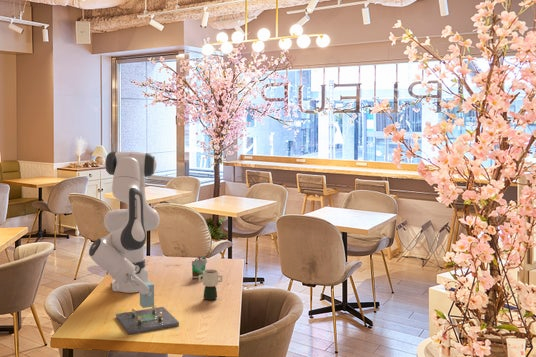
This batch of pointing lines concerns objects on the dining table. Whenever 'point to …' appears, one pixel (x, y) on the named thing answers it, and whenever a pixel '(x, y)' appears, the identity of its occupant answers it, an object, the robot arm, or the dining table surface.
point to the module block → (147, 297)
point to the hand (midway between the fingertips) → (148, 292)
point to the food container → (198, 267)
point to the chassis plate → (146, 320)
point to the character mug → (210, 283)
